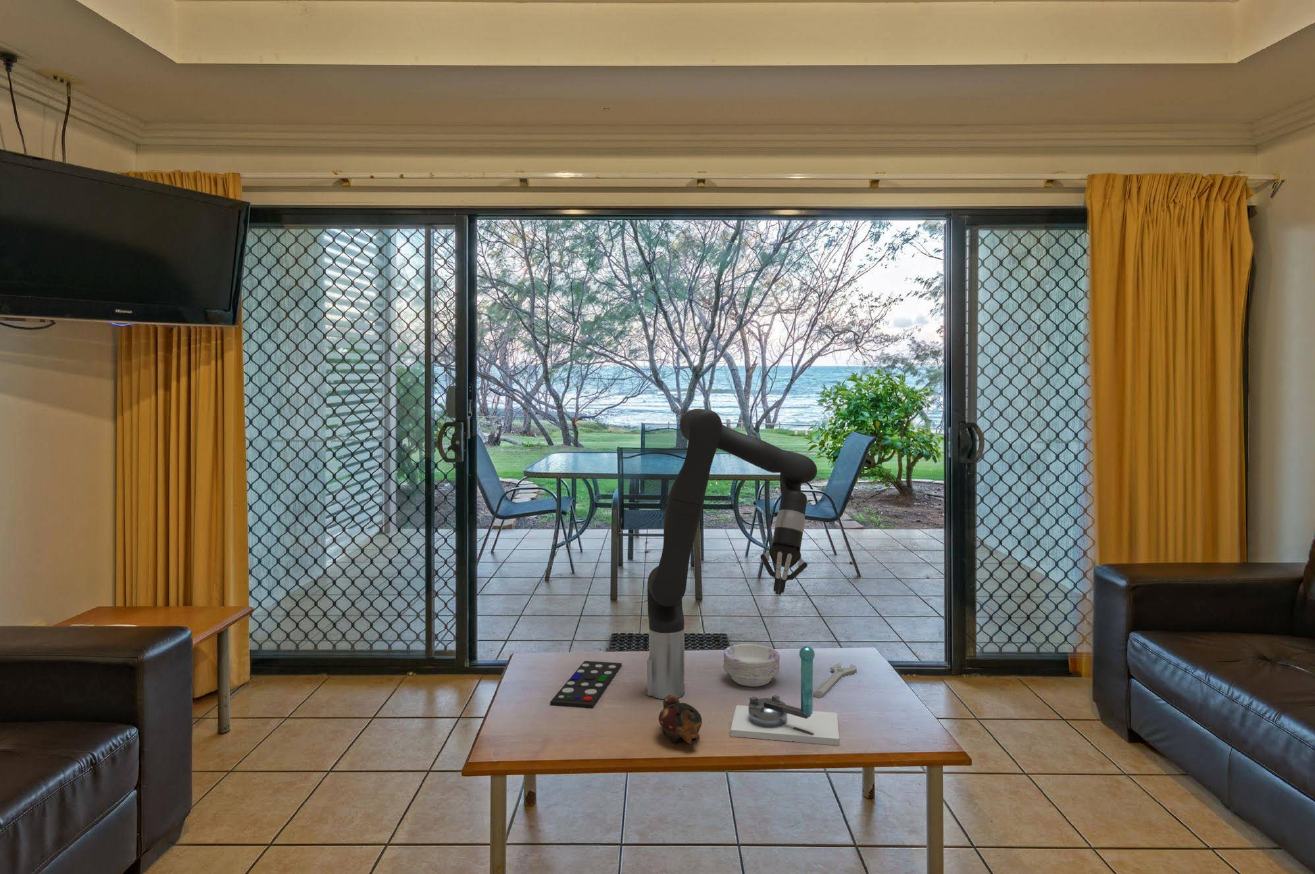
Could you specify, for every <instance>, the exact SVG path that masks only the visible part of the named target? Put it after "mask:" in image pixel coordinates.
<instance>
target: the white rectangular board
mask: <svg viewBox="0 0 1315 874" xmlns="http://www.w3.org/2000/svg"><path fill="white" fill-rule="evenodd" d="M730 737H734V738H735V737H737V738H745V737H746V738H747V739H757V740H758V739H761V740H768V739H769V740H770V741H781V742H792V741H794V743H802V744H803V743H804V744H805V743H806V744H818V745H826V746H827V745H829V746H830V745H831V746H840V733H839V721H838V712H829V711H819V710H818V711H817V710H813V713H812V714H811V716H810V717H809V718H807V719H805V718H802V717H798V716H795V715H791V714H788V713H787V722H786V723H785V724H783V725H781V726H776V727H765V726H759V725H756V724H754V723H752V722H751V721H750V720H749V718H748V705H738V704H736V706H735V711H734V714H733V717H732V723H731V727H730Z"/></svg>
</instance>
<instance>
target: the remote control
mask: <svg viewBox="0 0 1315 874" xmlns="http://www.w3.org/2000/svg"><path fill="white" fill-rule="evenodd" d="M622 667H623V665H622V662H611V661H610V662H608V661H594V660H593V661H591V660H584V661H583V662H582V663H581V664H580V666H579V667H578V668H577V669H576V670H575V672H574V673H572V675H571V676H570V678H568V680H567V681H566V682H565V684H563V686H562V687H561V688H560V689H559V691H557V693H556V694H555V695H554V696H553V697H552V699H551V700H550V701H549V706H554V707H566V708H580V709H581V708H582V709H594V708H595V706H596V705H597V703H598V702H599V700H600V699H601V697H602V696H603V694H604V693H605V691H607V688H608V687H609V686H610V684H611V682H612V681H613V680H614V679H615V677H616V675H617V674H618V672H619V671H620V670H621V668H622ZM616 673H617V674H616ZM612 679H613V680H612Z"/></svg>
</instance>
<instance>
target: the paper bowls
mask: <svg viewBox="0 0 1315 874" xmlns="http://www.w3.org/2000/svg"><path fill="white" fill-rule="evenodd" d="M780 656H781V655H780V653H779V651H777V650H776V649H775V648H772V647H770V646H766V645H762V644H761V645H760V644H755V643H741V644H734V645H731V646H727V648H725V649H724V651H723V670H724V672H725V673H726V674H727V675H730V676H731V679H732V681H734V682H735V683H736V684H738V685H740V686H744V687H753V688H754V687H762V686H765V685H768V684H769V683H770V682H771V680H772V678H775V677H776V676H778V674H780V659H781V657H780Z"/></svg>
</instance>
